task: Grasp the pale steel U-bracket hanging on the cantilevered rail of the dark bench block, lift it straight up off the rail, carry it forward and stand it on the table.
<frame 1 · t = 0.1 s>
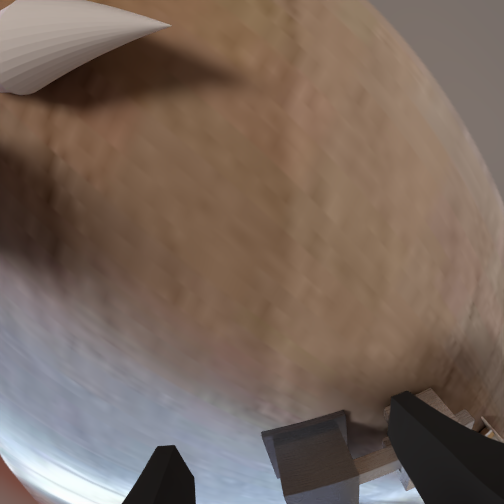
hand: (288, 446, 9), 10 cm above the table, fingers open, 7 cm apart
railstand: (392, 417, 22), on the table
bracket: (406, 418, 21), point 1 cm above the table, touching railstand
architectural model: (477, 425, 26), on the table
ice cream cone: (70, 54, 14), on the table
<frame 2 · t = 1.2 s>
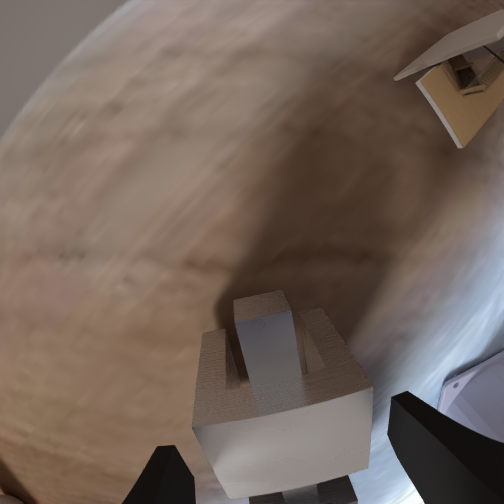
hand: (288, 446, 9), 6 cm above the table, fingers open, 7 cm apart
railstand: (272, 368, 15), on the table
bracket: (270, 361, 14), point 1 cm above the table, touching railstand
architectural model: (428, 70, 12), on the table
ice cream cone: (15, 494, 18), on the table
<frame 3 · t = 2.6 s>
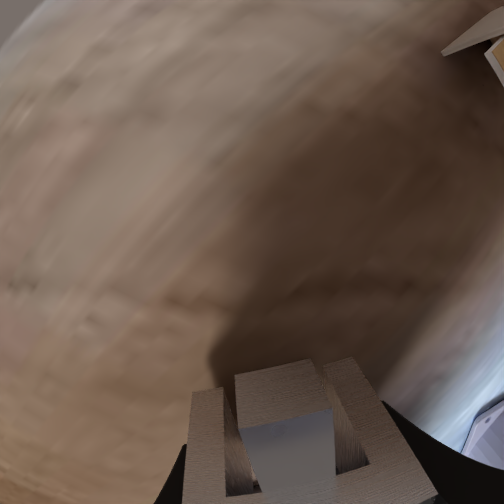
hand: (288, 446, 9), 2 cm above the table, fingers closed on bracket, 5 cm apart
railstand: (283, 425, 11), on the table
bracket: (283, 422, 10), point 1 cm above the table, touching gripper, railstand
architectural model: (475, 50, 8), on the table
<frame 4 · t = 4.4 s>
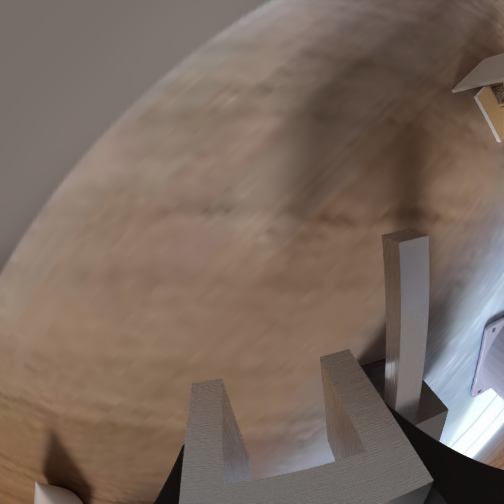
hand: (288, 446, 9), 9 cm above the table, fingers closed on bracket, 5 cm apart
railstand: (373, 307, 18), on the table
bracket: (281, 415, 10), point 8 cm above the table, touching gripper
architectural model: (471, 86, 16), on the table
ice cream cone: (64, 484, 22), on the table
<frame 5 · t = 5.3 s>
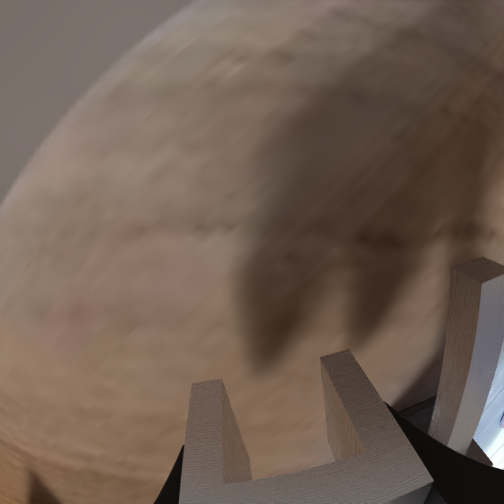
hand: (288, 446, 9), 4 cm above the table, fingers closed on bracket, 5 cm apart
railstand: (415, 348, 13), on the table
bracket: (281, 415, 10), point 3 cm above the table, touching gripper
when the fingers open (2 cm above the table, at t = 6.3 s): bracket stays where it is, on the table.
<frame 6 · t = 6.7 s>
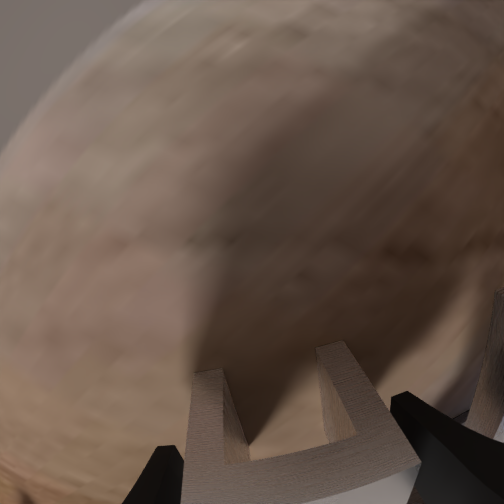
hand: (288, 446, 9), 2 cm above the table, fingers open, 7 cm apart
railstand: (437, 372, 11), on the table
bracket: (279, 404, 11), on the table
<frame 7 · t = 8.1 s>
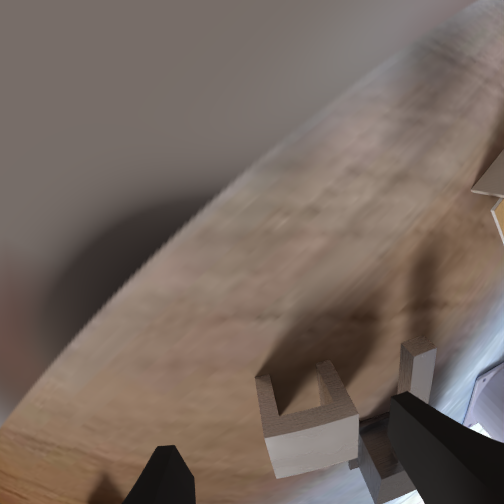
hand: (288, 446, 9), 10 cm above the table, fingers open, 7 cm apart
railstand: (386, 376, 21), on the table
bracket: (296, 392, 21), on the table
architectural model: (488, 177, 19), on the table
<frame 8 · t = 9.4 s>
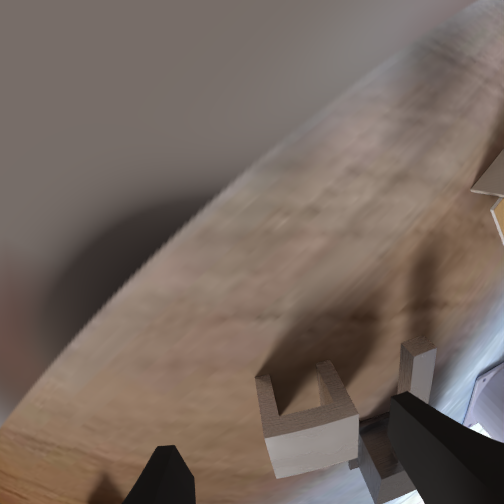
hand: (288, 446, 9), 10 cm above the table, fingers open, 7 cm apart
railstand: (386, 376, 21), on the table
bracket: (296, 392, 21), on the table
architectural model: (488, 177, 19), on the table
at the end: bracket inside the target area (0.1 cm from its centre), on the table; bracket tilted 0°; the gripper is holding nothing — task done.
